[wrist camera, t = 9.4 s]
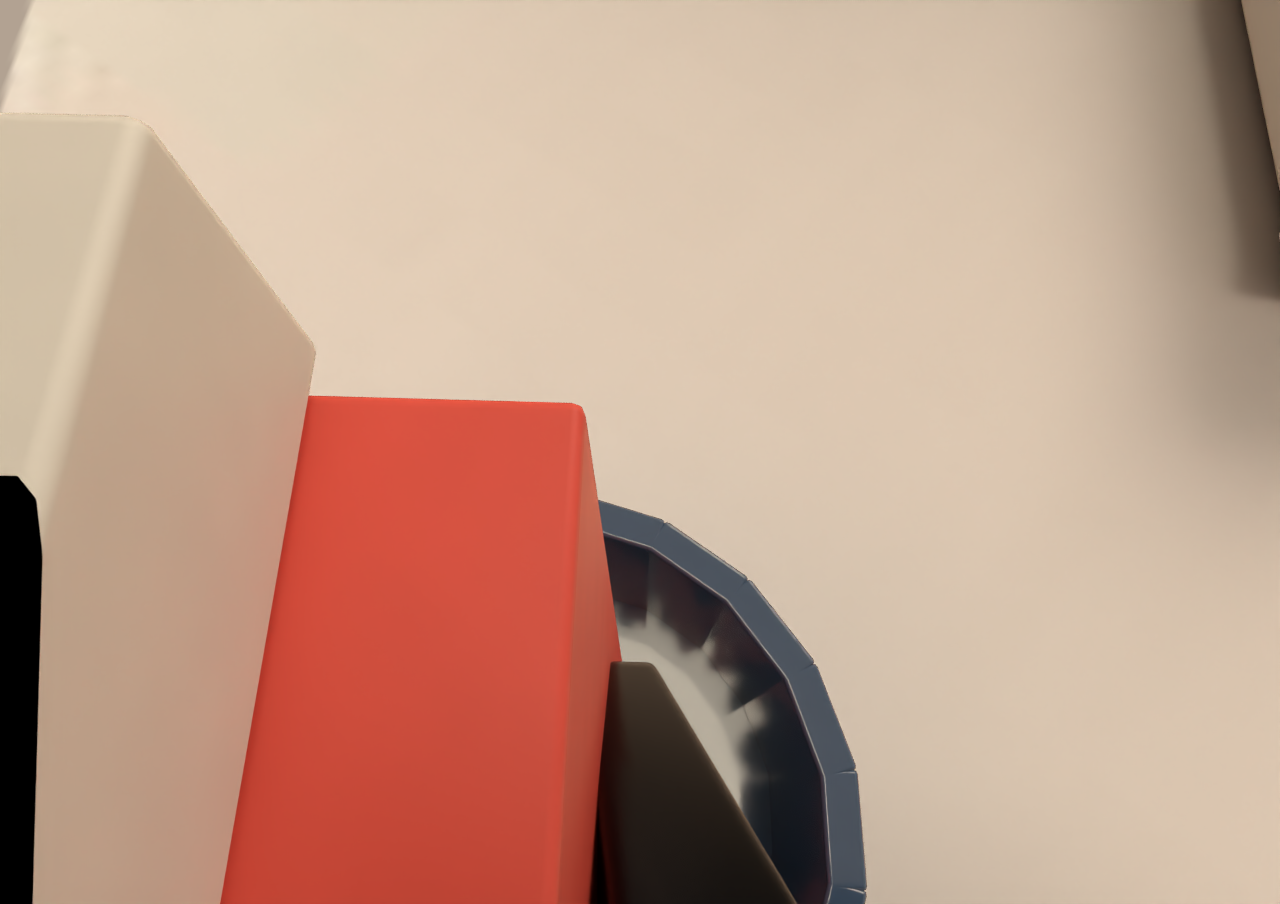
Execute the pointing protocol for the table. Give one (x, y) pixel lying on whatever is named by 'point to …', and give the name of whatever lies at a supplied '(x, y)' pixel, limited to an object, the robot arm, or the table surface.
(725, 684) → the holder
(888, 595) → the table surface
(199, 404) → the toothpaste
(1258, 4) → the tube
